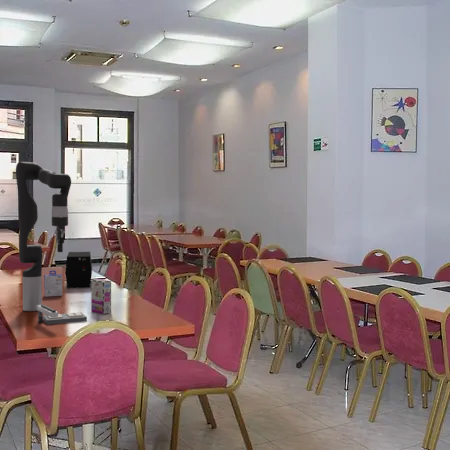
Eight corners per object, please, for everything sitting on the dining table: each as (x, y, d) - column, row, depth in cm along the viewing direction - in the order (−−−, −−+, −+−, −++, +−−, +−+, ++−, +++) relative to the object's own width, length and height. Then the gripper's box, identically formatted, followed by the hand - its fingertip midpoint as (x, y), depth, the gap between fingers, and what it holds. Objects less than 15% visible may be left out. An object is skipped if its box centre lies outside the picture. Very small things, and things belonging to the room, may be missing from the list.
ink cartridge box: (61, 294, 351) (61, 269, 350) (62, 295, 346) (62, 271, 345) (43, 295, 347) (43, 270, 346) (45, 296, 342) (44, 271, 341)
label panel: (42, 319, 280) (42, 313, 280) (81, 316, 288) (81, 310, 288) (47, 324, 269) (47, 318, 269) (86, 321, 277) (86, 315, 277)
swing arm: (35, 309, 274) (35, 303, 274) (42, 308, 276) (42, 302, 276) (51, 317, 256) (51, 311, 256) (58, 316, 258) (58, 310, 258)
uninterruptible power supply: (92, 280, 408) (91, 251, 407) (92, 288, 375) (91, 256, 374) (67, 281, 404) (67, 251, 403) (65, 288, 371) (64, 257, 370)
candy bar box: (111, 313, 295) (111, 280, 294) (103, 315, 291) (103, 281, 291) (99, 310, 303) (99, 278, 302) (90, 311, 299) (90, 279, 298)
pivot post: (37, 322, 274) (37, 310, 274) (42, 321, 275) (42, 309, 275) (38, 323, 272) (38, 310, 272) (43, 322, 273) (42, 310, 273)
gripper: (49, 215, 287) (49, 251, 288) (54, 216, 275) (54, 253, 277) (65, 215, 291) (65, 250, 292) (70, 216, 279) (70, 253, 280)
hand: (60, 252), depth 284 cm, fingers closed
